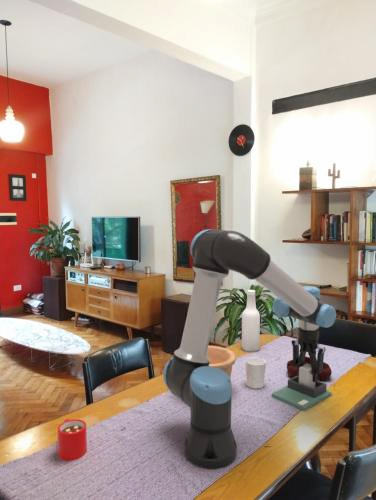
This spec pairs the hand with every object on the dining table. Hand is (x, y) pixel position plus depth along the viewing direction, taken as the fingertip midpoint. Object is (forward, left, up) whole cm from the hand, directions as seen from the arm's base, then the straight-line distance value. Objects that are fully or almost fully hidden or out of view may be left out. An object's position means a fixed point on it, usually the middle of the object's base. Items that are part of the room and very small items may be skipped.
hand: (306, 386), depth 151 cm
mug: (-84, +25, -2) cm, 88 cm away
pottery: (-28, +26, -2) cm, 38 cm away
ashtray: (+16, +10, -3) cm, 19 cm away
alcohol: (+20, +45, -2) cm, 49 cm away
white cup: (-10, +17, -2) cm, 20 cm away
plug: (0, 0, 0) cm, 0 cm away
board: (-4, 0, -2) cm, 5 cm away
